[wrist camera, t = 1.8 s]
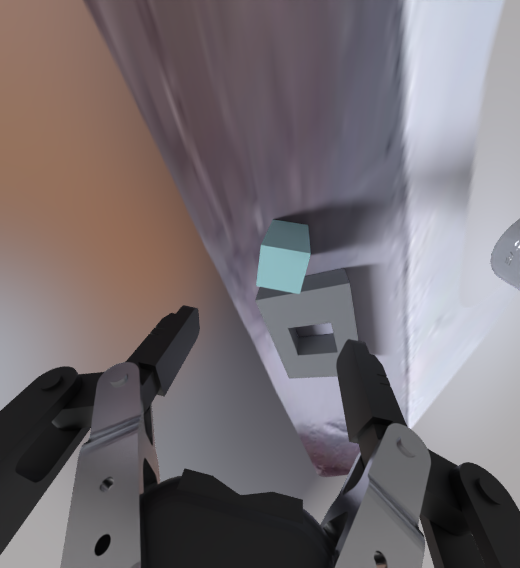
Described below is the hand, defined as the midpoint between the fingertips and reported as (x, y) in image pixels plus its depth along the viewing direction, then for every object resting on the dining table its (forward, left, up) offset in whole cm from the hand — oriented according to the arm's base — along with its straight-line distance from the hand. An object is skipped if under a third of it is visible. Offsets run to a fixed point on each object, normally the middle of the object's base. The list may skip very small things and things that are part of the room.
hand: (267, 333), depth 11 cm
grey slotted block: (-6, +12, -15) cm, 20 cm away
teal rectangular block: (0, 0, -15) cm, 15 cm away
